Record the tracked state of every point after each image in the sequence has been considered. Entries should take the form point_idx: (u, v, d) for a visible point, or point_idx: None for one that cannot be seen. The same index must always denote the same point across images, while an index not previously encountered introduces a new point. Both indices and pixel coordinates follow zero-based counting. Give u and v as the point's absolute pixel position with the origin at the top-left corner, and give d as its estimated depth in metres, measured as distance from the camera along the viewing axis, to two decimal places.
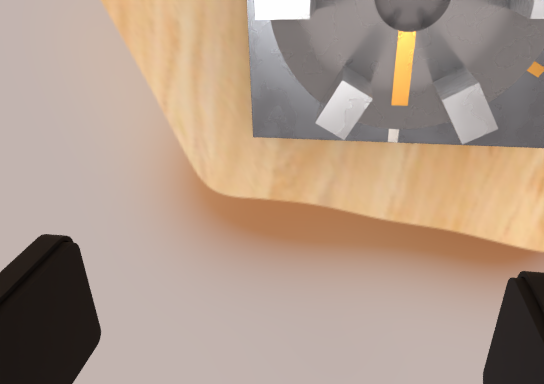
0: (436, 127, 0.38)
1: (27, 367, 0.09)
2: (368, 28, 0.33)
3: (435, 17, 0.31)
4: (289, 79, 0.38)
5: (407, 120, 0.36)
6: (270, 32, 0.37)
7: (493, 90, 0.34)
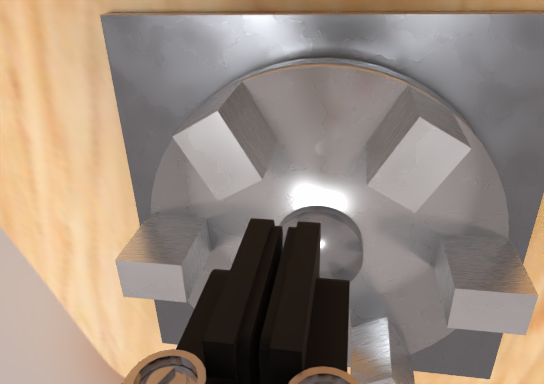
0: None
1: None
2: None
3: None
4: None
5: None
6: None
7: (422, 341, 0.29)
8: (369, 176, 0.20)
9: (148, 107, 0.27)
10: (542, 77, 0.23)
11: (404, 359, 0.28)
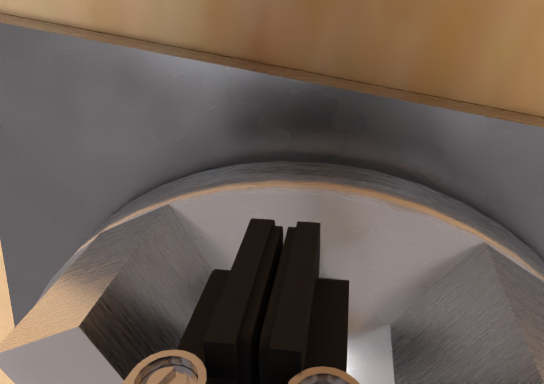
0: None
1: None
2: None
3: None
4: None
5: None
6: None
7: None
8: None
9: (42, 184, 0.15)
10: None
11: None
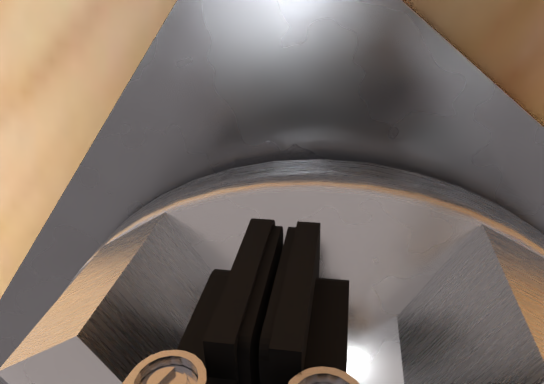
0: None
1: None
2: None
3: None
4: None
5: None
6: (60, 292, 0.18)
7: None
8: None
9: (204, 92, 0.13)
10: None
11: None
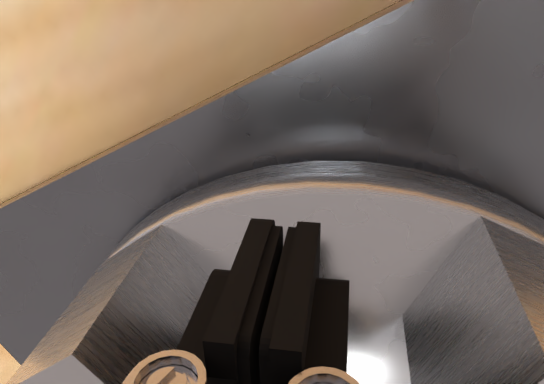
0: None
1: None
2: None
3: None
4: (65, 277, 0.17)
5: None
6: (117, 210, 0.15)
7: None
8: None
9: (423, 80, 0.12)
10: None
11: None
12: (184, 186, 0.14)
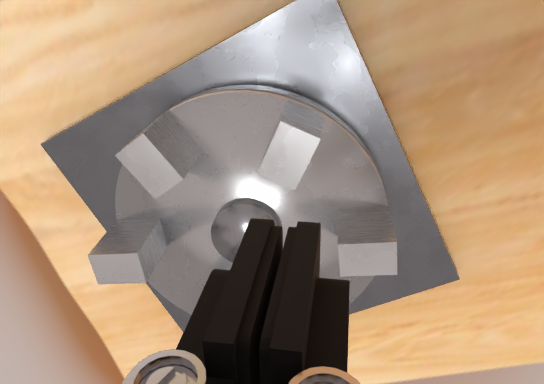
0: None
1: None
2: (218, 257, 0.35)
3: None
4: None
5: None
6: (145, 114, 0.33)
7: None
8: (259, 168, 0.27)
9: (270, 50, 0.30)
10: (416, 276, 0.37)
11: None
12: (176, 100, 0.33)
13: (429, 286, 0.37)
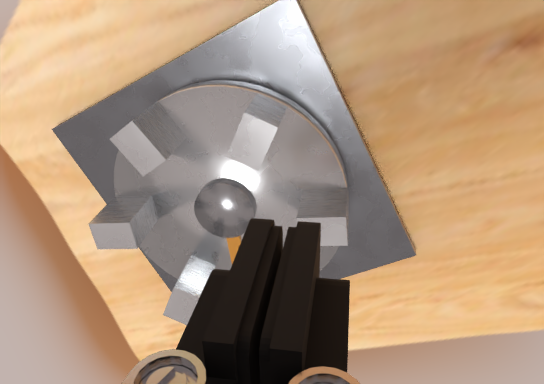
0: None
1: None
2: (202, 230, 0.41)
3: (245, 228, 0.38)
4: None
5: None
6: (140, 104, 0.39)
7: None
8: None
9: (244, 50, 0.35)
10: (378, 252, 0.41)
11: None
12: (166, 93, 0.38)
13: (389, 261, 0.42)
